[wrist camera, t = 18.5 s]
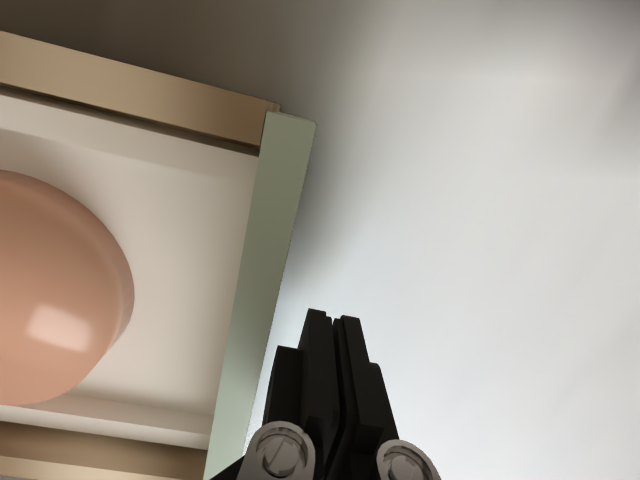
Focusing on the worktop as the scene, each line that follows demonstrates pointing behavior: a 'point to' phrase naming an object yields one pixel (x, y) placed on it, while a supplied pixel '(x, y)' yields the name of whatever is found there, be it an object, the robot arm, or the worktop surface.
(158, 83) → the caddy
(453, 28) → the worktop surface
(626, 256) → the worktop surface
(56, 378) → the pink dome
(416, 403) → the worktop surface
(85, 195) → the tray
